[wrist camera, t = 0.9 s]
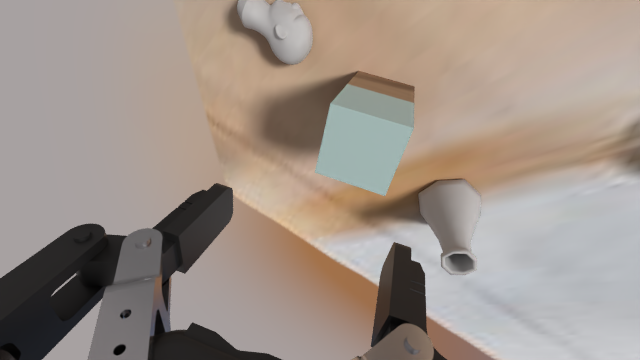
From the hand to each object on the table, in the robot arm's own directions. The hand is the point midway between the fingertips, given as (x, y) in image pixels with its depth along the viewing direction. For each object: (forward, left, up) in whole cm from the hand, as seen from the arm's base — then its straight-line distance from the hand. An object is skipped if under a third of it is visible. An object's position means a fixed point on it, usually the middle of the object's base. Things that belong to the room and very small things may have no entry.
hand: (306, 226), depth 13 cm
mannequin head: (-5, -11, -22) cm, 25 cm away
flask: (+9, +13, -22) cm, 27 cm away
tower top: (0, +1, -16) cm, 16 cm away
